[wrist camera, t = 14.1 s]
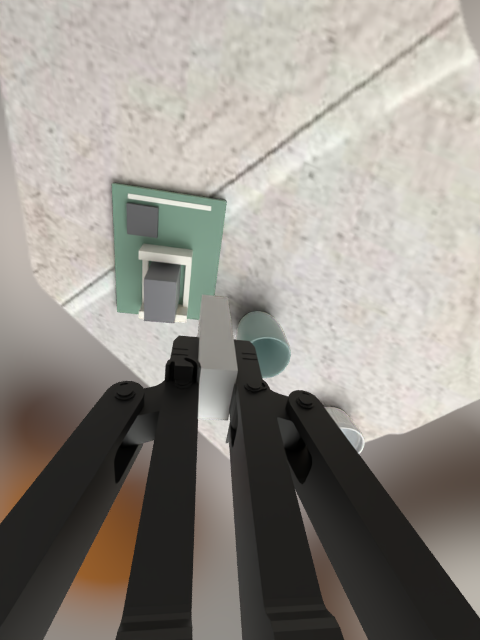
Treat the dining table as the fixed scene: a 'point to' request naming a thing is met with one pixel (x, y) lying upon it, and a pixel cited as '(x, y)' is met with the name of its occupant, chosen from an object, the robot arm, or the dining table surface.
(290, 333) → the dining table surface
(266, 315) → the cup
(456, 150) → the dining table surface
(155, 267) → the plug
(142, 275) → the board
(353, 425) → the ramekin
